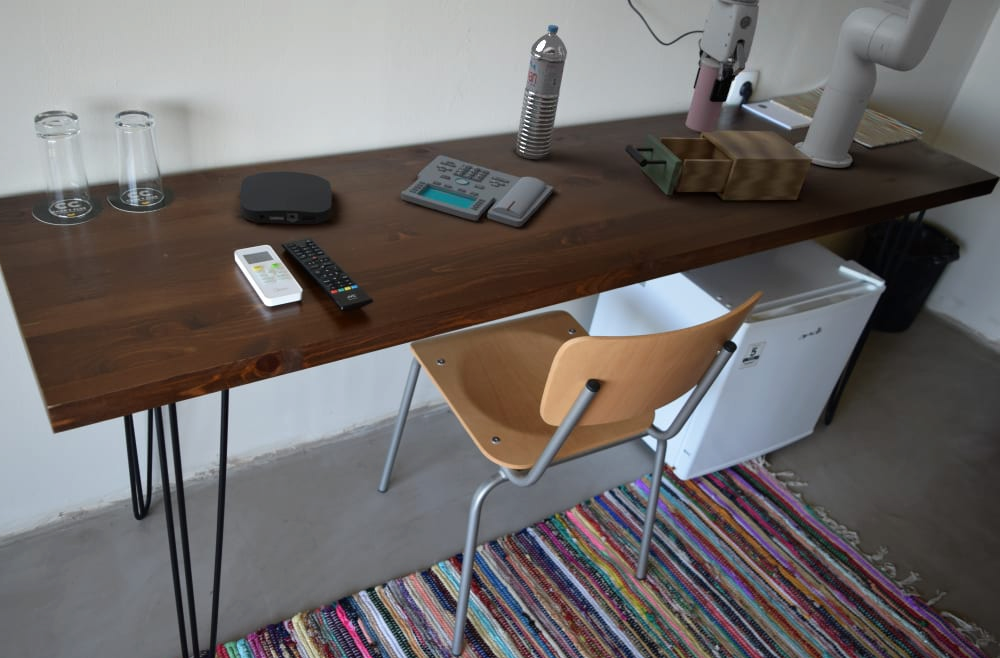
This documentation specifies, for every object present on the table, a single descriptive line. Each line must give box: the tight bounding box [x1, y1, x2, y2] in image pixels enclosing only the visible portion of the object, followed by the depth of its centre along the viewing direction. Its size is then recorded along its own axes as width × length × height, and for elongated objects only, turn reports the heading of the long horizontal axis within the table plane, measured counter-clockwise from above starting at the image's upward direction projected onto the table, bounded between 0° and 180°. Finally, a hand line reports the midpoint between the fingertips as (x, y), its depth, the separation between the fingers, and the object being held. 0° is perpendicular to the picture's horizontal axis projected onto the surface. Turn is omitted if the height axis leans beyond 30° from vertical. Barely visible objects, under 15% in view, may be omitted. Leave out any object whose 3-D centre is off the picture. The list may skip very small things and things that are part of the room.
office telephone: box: [400, 154, 554, 228], centre depth 145 cm, size 23×3×20 cm
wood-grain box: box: [699, 129, 812, 201], centre depth 161 cm, size 17×14×9 cm
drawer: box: [624, 134, 734, 196], centre depth 157 cm, size 21×13×7 cm, turn 104°
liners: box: [685, 57, 732, 133], centre depth 150 cm, size 6×6×12 cm
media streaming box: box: [239, 171, 333, 225], centre depth 134 cm, size 15×15×3 cm
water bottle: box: [515, 24, 568, 161], centre depth 157 cm, size 7×7×25 cm
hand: (709, 94), depth 150 cm, fingers closed on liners, 5 cm apart
